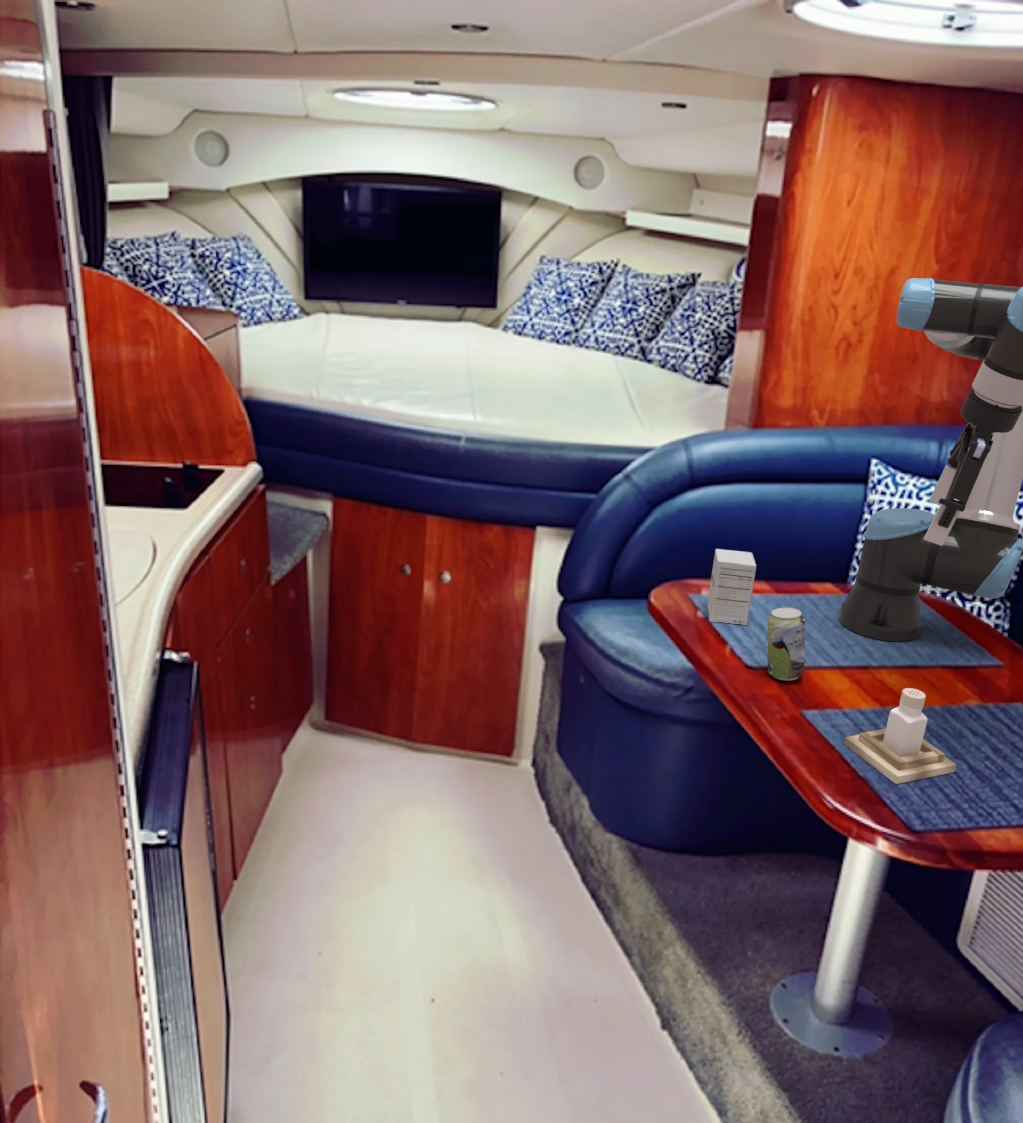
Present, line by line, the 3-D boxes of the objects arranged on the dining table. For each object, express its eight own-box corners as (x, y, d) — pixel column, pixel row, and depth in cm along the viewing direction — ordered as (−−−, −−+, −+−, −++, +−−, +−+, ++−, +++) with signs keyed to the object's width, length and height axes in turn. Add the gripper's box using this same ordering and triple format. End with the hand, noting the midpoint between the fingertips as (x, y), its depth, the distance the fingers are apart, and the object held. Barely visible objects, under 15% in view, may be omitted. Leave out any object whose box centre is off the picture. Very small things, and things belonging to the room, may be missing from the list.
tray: (900, 733, 149) (903, 720, 148) (955, 771, 140) (958, 757, 139) (843, 743, 145) (846, 730, 144) (896, 784, 136) (899, 769, 135)
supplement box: (705, 607, 192) (714, 547, 187) (743, 611, 191) (753, 551, 186) (707, 622, 185) (717, 560, 180) (747, 626, 184) (757, 565, 179)
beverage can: (804, 687, 162) (816, 622, 158) (759, 680, 163) (770, 615, 159) (801, 670, 168) (813, 607, 163) (758, 664, 169) (769, 601, 165)
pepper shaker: (900, 759, 140) (914, 701, 136) (880, 745, 143) (893, 688, 140) (920, 754, 141) (935, 697, 138) (900, 741, 145) (914, 684, 141)
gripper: (1026, 437, 126) (957, 568, 138) (1022, 378, 146) (962, 497, 158) (968, 419, 128) (905, 550, 140) (971, 363, 148) (916, 481, 160)
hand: (935, 522), depth 149 cm, fingers open, 13 cm apart
